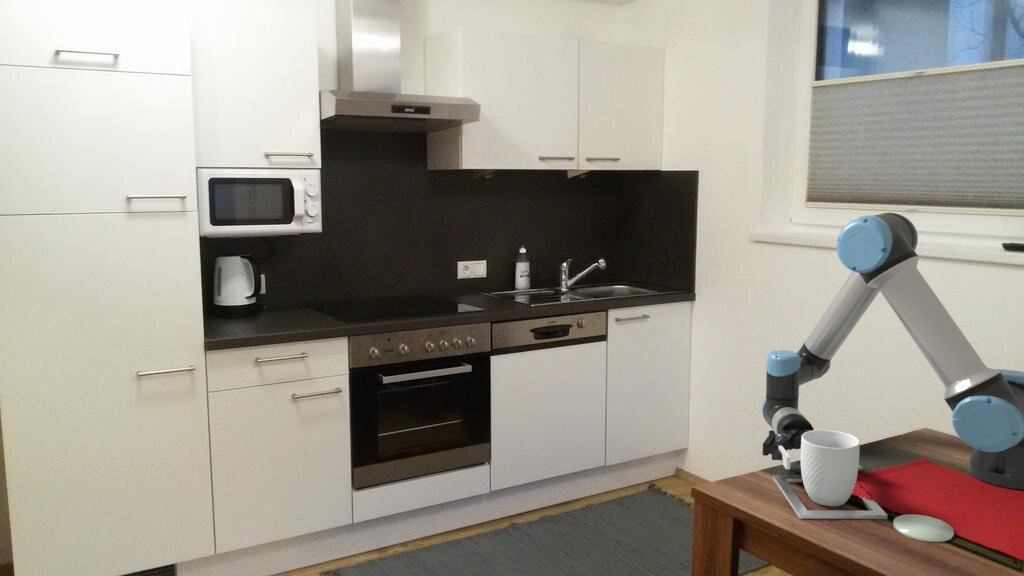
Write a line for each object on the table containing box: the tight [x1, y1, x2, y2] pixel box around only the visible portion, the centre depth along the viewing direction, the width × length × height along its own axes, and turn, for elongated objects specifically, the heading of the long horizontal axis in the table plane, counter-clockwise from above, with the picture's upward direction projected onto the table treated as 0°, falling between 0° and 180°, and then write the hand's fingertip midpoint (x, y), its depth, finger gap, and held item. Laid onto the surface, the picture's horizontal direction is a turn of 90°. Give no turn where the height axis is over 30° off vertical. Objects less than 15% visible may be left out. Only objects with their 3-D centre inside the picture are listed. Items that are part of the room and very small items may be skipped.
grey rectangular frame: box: [772, 474, 888, 520], centre depth 161 cm, size 16×20×1 cm
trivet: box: [892, 513, 955, 543], centre depth 147 cm, size 10×10×1 cm
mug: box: [800, 429, 861, 507], centre depth 161 cm, size 15×11×13 cm
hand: (822, 463), depth 162 cm, fingers open, 13 cm apart
